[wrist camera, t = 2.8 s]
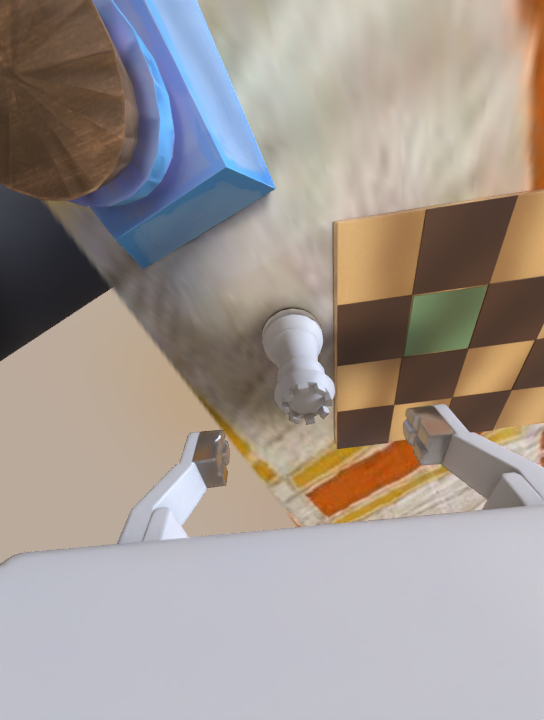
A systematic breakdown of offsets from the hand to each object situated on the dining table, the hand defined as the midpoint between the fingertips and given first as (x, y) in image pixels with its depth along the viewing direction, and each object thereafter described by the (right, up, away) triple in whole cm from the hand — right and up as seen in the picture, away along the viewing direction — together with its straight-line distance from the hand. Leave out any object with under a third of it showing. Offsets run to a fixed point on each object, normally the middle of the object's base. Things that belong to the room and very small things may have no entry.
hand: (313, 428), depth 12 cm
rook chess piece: (0, +5, +8) cm, 10 cm away
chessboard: (+13, +5, +9) cm, 16 cm away
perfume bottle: (-6, +14, +2) cm, 15 cm away
